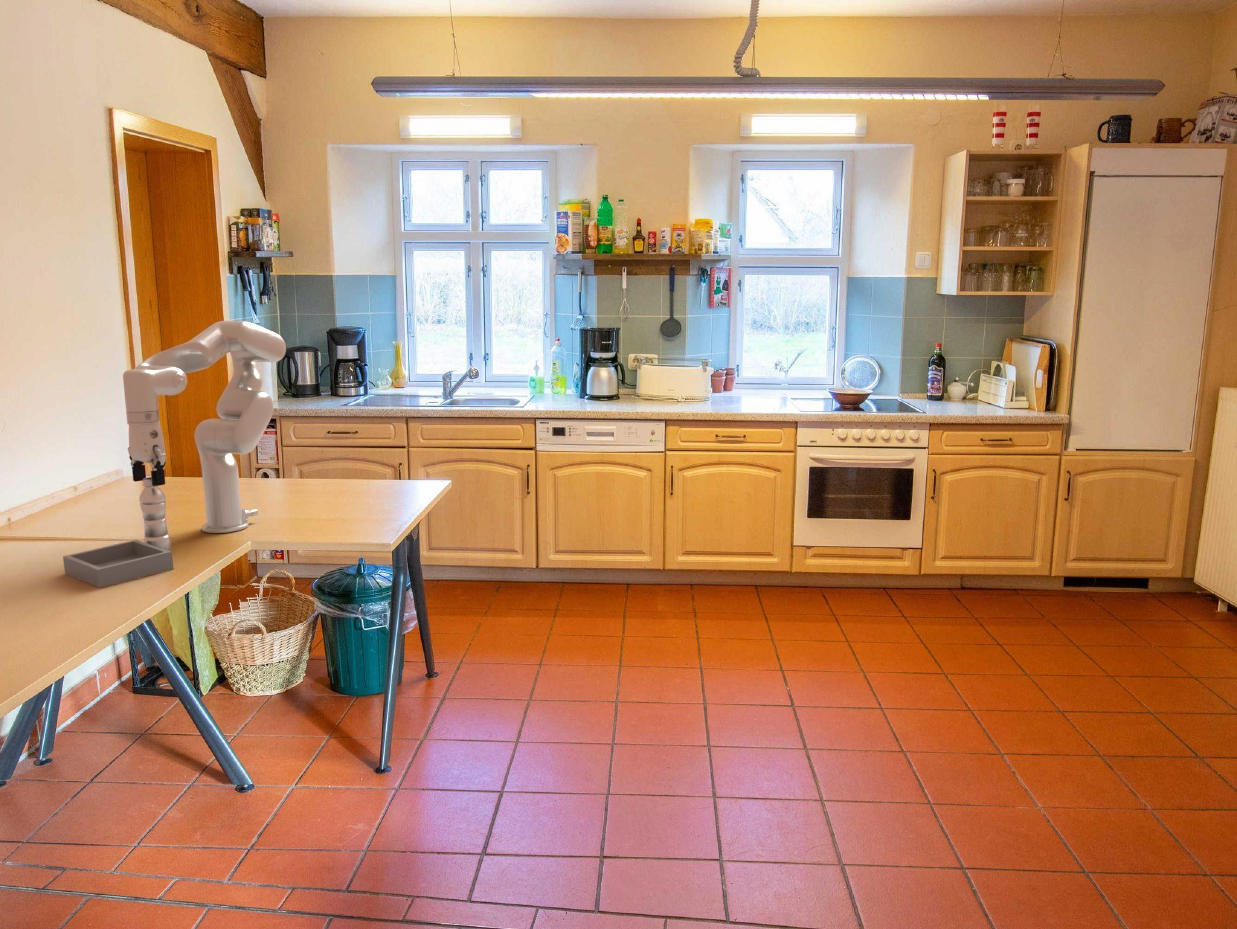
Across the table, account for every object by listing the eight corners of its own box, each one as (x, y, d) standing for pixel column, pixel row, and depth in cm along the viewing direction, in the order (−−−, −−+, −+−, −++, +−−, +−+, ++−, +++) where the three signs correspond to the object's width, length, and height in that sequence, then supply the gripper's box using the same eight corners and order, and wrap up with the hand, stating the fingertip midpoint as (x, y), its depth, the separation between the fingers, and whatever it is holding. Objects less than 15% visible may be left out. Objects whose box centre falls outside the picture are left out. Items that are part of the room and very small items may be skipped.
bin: (137, 556, 254) (135, 539, 253) (173, 568, 243) (171, 551, 242) (65, 573, 240) (62, 556, 239) (99, 588, 229) (97, 569, 228)
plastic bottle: (145, 557, 252) (137, 482, 248) (144, 550, 258) (136, 477, 254) (172, 554, 255) (164, 479, 251) (171, 547, 261) (163, 474, 257)
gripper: (174, 418, 247) (180, 484, 250) (140, 413, 257) (146, 476, 261) (145, 422, 241) (151, 489, 244) (112, 416, 252) (118, 481, 255)
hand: (149, 483), depth 253 cm, fingers open, 9 cm apart
